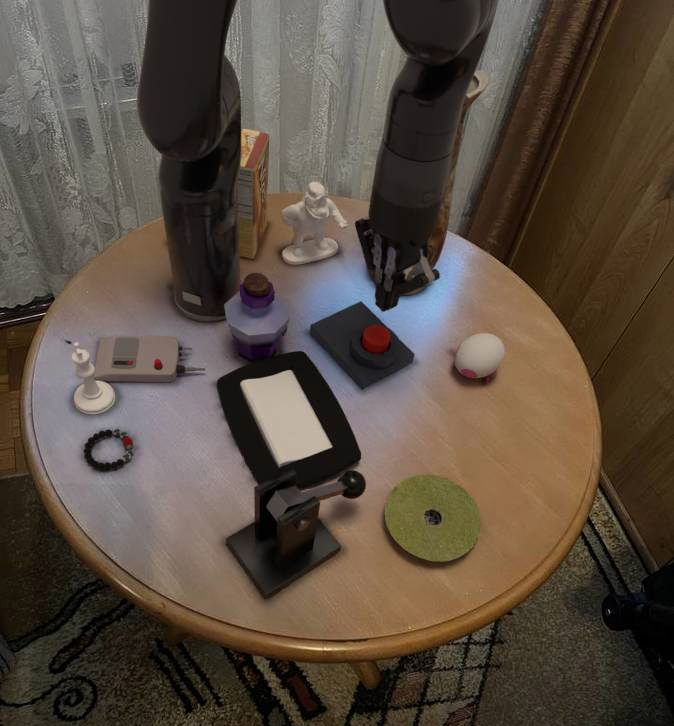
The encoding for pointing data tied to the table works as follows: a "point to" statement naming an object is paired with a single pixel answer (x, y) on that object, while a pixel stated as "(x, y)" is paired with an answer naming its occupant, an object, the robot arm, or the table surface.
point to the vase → (440, 231)
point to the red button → (376, 339)
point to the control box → (359, 345)
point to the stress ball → (479, 355)
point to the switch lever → (317, 493)
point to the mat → (432, 517)
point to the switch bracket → (282, 539)
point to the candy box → (252, 191)
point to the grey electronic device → (139, 359)
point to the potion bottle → (257, 318)
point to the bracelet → (107, 466)
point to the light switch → (287, 419)
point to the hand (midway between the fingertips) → (384, 305)
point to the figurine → (311, 226)
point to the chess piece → (90, 386)
